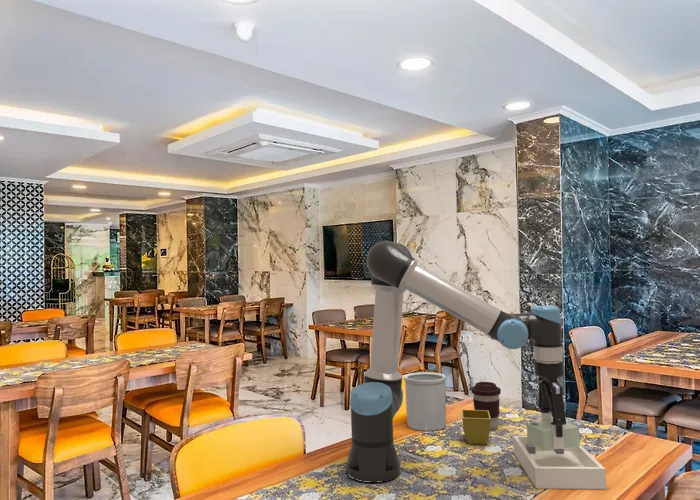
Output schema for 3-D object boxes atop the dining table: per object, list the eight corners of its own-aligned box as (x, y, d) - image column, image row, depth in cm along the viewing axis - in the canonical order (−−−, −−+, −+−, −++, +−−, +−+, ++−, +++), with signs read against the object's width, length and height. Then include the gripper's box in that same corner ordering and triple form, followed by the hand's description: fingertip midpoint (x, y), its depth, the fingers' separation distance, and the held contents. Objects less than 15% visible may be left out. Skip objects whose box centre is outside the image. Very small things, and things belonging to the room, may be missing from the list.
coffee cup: (505, 431, 168) (504, 386, 168) (476, 432, 168) (474, 387, 168) (497, 422, 178) (495, 380, 178) (469, 422, 178) (468, 380, 178)
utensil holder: (401, 420, 183) (400, 372, 184) (440, 417, 185) (439, 370, 186) (410, 433, 169) (409, 381, 169) (453, 430, 170) (451, 379, 171)
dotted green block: (544, 450, 133) (543, 431, 133) (527, 441, 141) (526, 422, 141) (580, 445, 135) (578, 426, 136) (561, 436, 143) (560, 418, 143)
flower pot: (491, 447, 153) (490, 418, 154) (463, 446, 155) (462, 417, 155) (489, 438, 162) (488, 410, 162) (462, 436, 164) (461, 409, 164)
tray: (536, 488, 125) (535, 468, 125) (513, 452, 149) (513, 435, 149) (606, 489, 123) (605, 468, 123) (572, 453, 147) (571, 436, 147)
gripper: (576, 368, 128) (581, 456, 127) (550, 353, 150) (554, 428, 149) (546, 369, 128) (551, 456, 127) (524, 354, 150) (528, 429, 149)
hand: (553, 441), depth 138 cm, fingers closed on dotted green block, 9 cm apart
